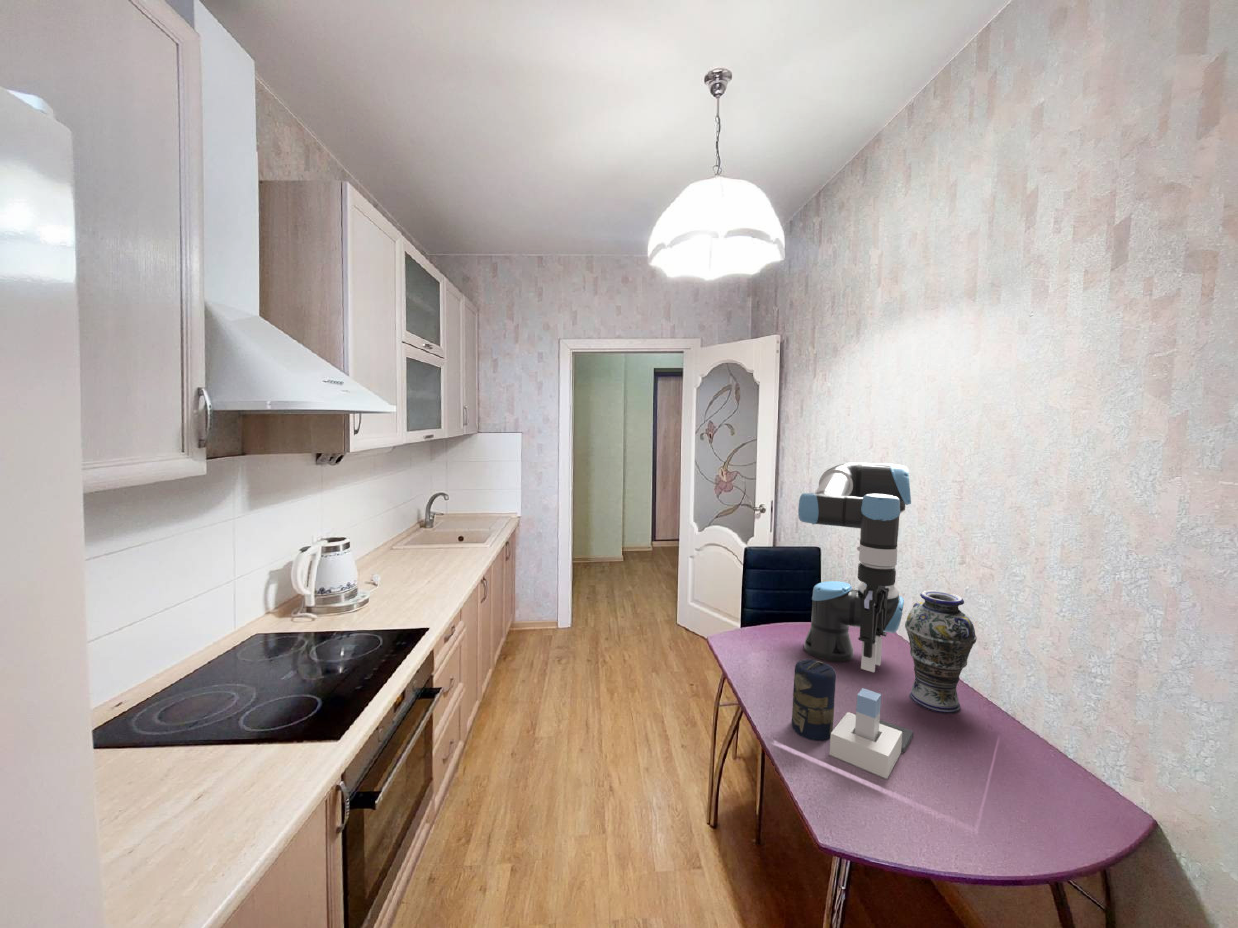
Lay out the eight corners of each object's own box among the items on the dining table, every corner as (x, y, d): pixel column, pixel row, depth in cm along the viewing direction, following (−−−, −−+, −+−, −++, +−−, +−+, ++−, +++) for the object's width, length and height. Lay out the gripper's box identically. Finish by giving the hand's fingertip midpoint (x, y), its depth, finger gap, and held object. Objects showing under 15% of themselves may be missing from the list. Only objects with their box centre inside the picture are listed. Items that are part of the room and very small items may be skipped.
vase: (943, 724, 134) (951, 610, 131) (885, 691, 149) (892, 589, 147) (986, 712, 140) (995, 602, 137) (927, 682, 156) (934, 583, 153)
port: (846, 735, 128) (847, 711, 128) (900, 756, 120) (902, 731, 120) (829, 758, 119) (830, 733, 119) (886, 782, 111) (888, 756, 111)
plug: (859, 745, 122) (862, 687, 121) (877, 752, 120) (881, 694, 119) (853, 753, 119) (857, 694, 118) (872, 761, 117) (876, 700, 116)
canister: (783, 725, 132) (786, 656, 130) (814, 718, 135) (817, 651, 134) (808, 747, 123) (812, 673, 121) (841, 740, 126) (845, 668, 125)
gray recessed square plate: (873, 724, 133) (873, 716, 133) (912, 738, 127) (913, 731, 127) (862, 740, 126) (862, 732, 126) (903, 756, 120) (904, 748, 120)
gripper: (870, 554, 125) (864, 649, 127) (847, 568, 112) (841, 674, 114) (905, 560, 120) (898, 659, 122) (885, 575, 107) (878, 685, 109)
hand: (870, 666), depth 118 cm, fingers open, 4 cm apart
